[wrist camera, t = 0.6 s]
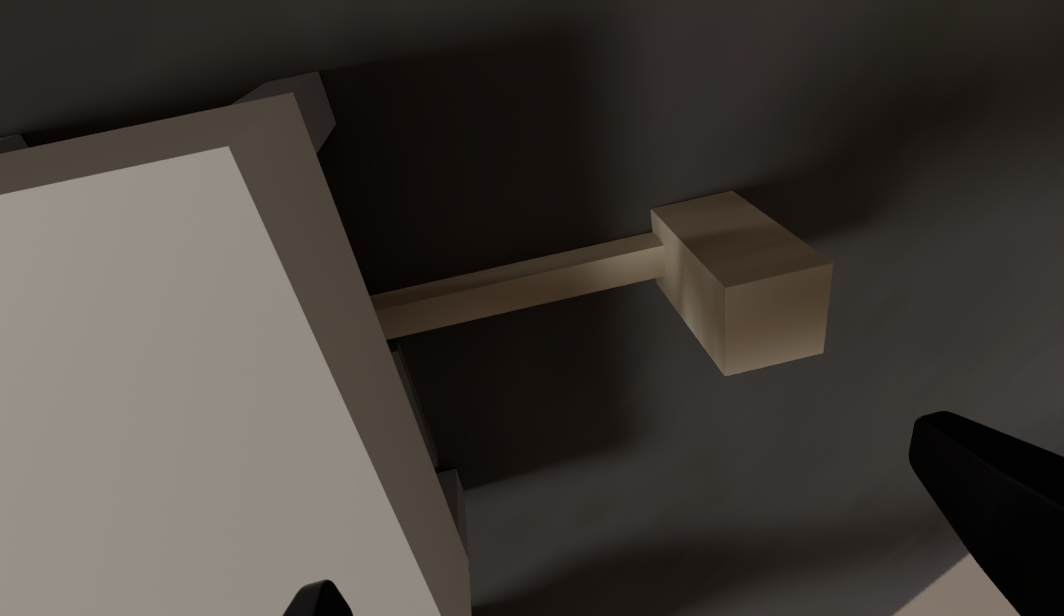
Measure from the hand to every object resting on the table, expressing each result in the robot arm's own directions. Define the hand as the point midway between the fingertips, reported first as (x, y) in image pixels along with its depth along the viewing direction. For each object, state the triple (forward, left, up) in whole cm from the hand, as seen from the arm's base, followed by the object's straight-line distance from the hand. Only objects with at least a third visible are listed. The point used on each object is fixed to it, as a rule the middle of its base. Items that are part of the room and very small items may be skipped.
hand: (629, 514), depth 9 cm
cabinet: (-3, +10, -13) cm, 17 cm away
